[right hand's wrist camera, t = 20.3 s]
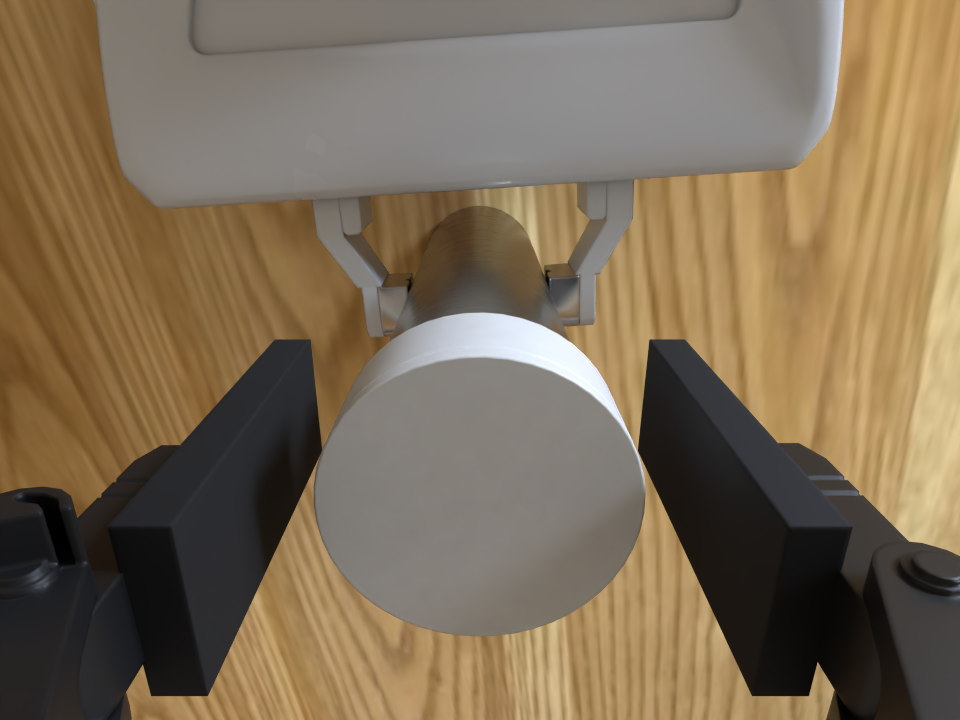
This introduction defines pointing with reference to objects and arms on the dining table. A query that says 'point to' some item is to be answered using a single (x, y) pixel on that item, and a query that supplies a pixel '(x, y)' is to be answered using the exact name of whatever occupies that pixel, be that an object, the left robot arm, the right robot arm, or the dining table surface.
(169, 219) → the dining table surface
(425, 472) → the lid
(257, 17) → the left robot arm
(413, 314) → the brown metallic tall cylinder
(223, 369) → the dining table surface
